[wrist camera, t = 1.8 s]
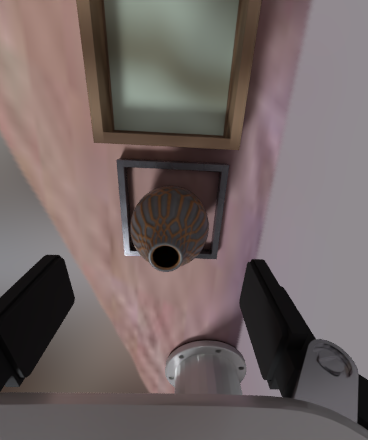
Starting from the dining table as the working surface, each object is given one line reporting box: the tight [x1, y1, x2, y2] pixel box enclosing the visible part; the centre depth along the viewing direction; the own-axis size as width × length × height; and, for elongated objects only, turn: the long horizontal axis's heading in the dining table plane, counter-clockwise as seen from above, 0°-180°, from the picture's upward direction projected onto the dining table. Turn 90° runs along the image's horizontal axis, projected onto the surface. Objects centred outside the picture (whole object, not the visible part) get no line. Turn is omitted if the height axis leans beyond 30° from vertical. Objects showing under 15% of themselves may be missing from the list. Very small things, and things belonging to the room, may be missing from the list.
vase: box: [131, 186, 209, 272], centre depth 17 cm, size 7×7×9 cm
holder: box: [76, 0, 262, 150], centre depth 15 cm, size 12×12×3 cm
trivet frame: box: [117, 159, 229, 259], centre depth 21 cm, size 10×10×1 cm
